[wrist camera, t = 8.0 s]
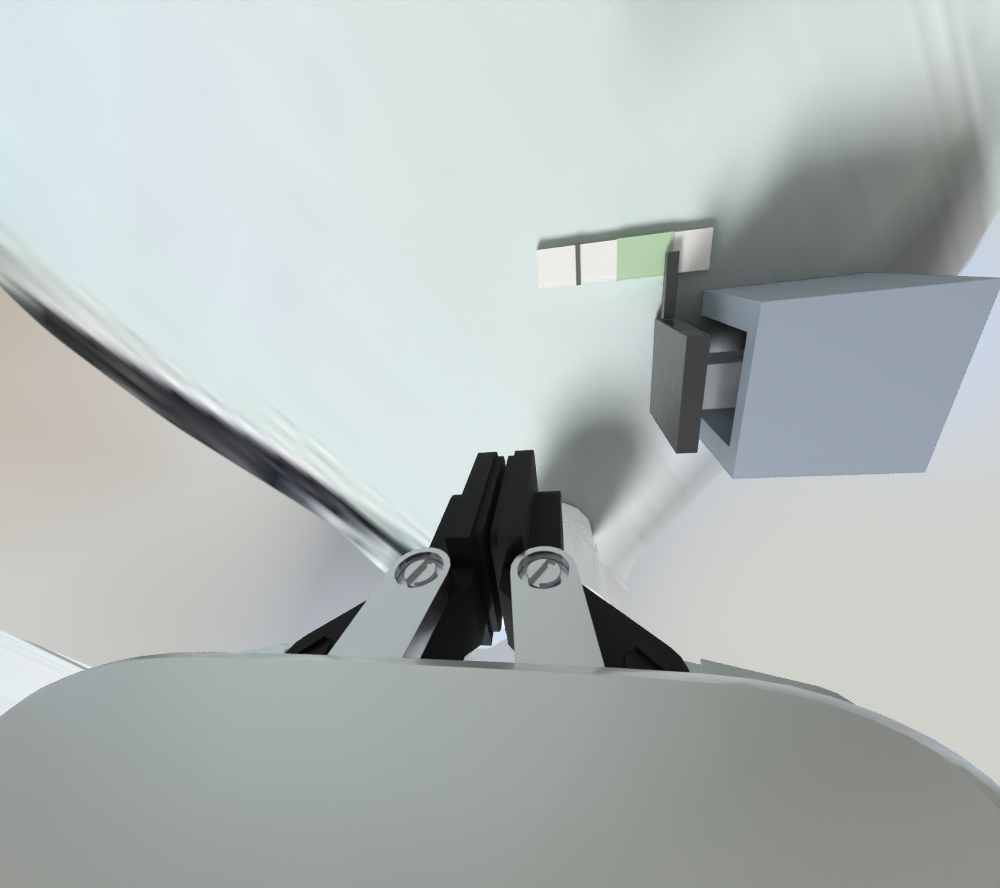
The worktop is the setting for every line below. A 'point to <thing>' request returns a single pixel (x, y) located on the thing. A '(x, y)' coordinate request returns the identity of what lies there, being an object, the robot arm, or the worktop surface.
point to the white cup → (583, 550)
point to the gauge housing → (817, 357)
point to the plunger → (687, 371)
